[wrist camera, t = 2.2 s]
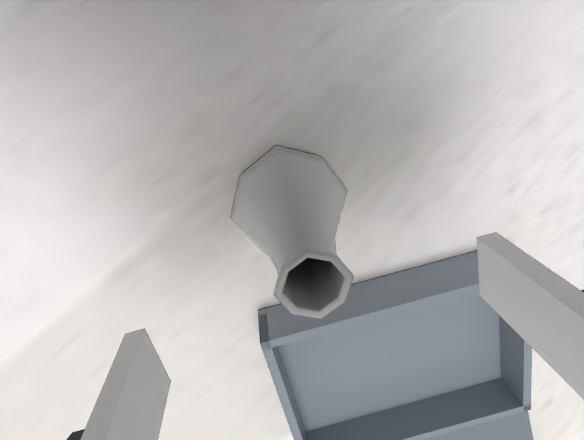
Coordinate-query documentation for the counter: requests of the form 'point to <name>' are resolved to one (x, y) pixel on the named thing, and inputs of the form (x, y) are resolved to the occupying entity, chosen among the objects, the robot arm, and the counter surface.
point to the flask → (296, 227)
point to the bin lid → (493, 430)
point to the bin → (398, 358)
